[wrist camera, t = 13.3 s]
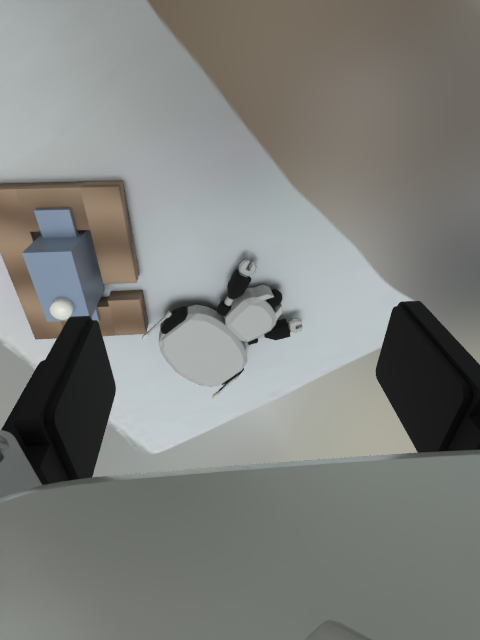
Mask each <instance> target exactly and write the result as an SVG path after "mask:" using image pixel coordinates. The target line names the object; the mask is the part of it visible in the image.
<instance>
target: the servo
mask: <svg viewBox="0 0 480 640" xmlns="http://www.w3.org/2000/svg"><path fill="white" fill-rule="evenodd" d="M34 213H35V216H36V219H37V222H38V225H39V228H40V231H41V235H40V236H39V237H38V238H37V239H36V240H35V241H34V242H32V243H31V244H30V245H29V246H28V247H27V248H26V249H25V250H24V251H23V252H22V255H23V257H24V260H25V263H26V266H27V268H28V271H29V274H30V276H31V279H32V282H33V285H34V287H35V290H36V293H37V296H38V298H39V301H40V304H41V306H42V309H43V312H44V315H45V317H46V320H47V322H56V321H67V320H68V318H69V317H73V316H90V317H91V318H92V320H97V321H98V322H99V321H100V315H99V311H98V307H97V305H98V303H99V300H100V298H101V296H102V294H103V292H104V289H105V288H104V284H103V280H102V276H101V272H100V268H99V264H98V260H97V256H96V252H95V248H94V243H93V239H92V235H91V231H90V230H77V228H76V224H75V220H74V216H73V213H72V209H71V208H36V209H35V210H34Z"/></svg>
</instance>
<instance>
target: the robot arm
mask: <svg viewBox="0 0 480 640" xmlns="http://www.w3.org/2000/svg"><path fill="white" fill-rule="evenodd" d="M376 376H377V380H378V382H379V383H380V385H381V387H382V388H383V391H384V392H385V394H386V396H387V398H388V399H389V401H390V403H391V405H392V407H393V408H394V410H395V412H396V414H397V416H398V417H399V419H400V421H401V423H402V424H403V426H404V428H405V430H406V432H407V434H408V435H409V437H410V439H411V441H412V443H413V444H414V446H415V448H416V450H417V452H418V453H407V454H392V455H377V456H362V457H347V458H332V459H318V460H304V461H290V462H277V463H264V464H249V465H236V466H223V467H210V468H198V469H184V470H171V471H158V472H146V473H135V474H124V475H114V476H103V477H92V476H93V472H94V468H95V465H96V461H97V458H98V454H99V451H100V447H101V443H102V440H103V436H104V432H105V429H106V425H107V422H108V418H109V415H110V411H111V408H112V404H113V400H114V397H115V391H116V387H115V381H114V378H113V374H112V370H111V366H110V363H109V359H108V355H107V352H106V348H105V344H104V341H103V337H102V333H101V330H100V326H99V323H98V321H97V320H92V318H91V317H90V316H73V317H69V318H68V320H67V322H66V323H65V325H64V327H63V329H62V331H61V332H60V334H59V336H58V338H57V340H56V341H55V343H54V345H53V347H52V349H51V351H50V352H49V354H48V356H47V358H46V360H43V361H41V362H40V363H39V365H38V366H37V368H36V370H35V371H34V373H33V375H32V377H31V378H30V380H29V382H28V384H27V386H26V387H25V389H24V391H23V392H22V394H21V396H20V398H19V400H18V401H17V403H16V405H15V407H14V408H13V410H12V412H11V414H10V415H9V417H8V419H7V421H6V422H5V424H4V426H3V428H2V429H1V430H0V640H480V365H479V364H478V363H477V362H476V360H475V359H474V358H473V357H472V356H471V355H470V354H469V353H468V352H467V351H466V350H465V349H464V347H462V345H461V344H460V343H459V342H458V341H457V340H456V339H455V338H454V337H453V336H452V335H451V333H450V332H448V330H447V329H446V328H445V327H444V326H443V325H442V324H441V323H440V322H439V321H438V320H437V318H436V317H435V316H433V314H432V313H431V312H430V311H429V310H428V309H427V308H426V307H425V306H424V305H423V304H422V303H421V302H420V301H407V302H400V303H399V304H398V306H396V307H394V308H393V310H392V313H391V317H390V320H389V324H388V327H387V331H386V334H385V338H384V342H383V345H382V349H381V352H380V356H379V360H378V363H377V367H376Z"/></svg>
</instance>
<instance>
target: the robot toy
mask: <svg viewBox="0 0 480 640" xmlns="http://www.w3.org/2000/svg"><path fill="white" fill-rule="evenodd" d="M249 263H250V261H249V260H248V259H246V260H243V261H242V262H241V263H240V264H239V270H235V272H234V274H233V275H232V277H231V279H230V281H229V283H228V291H227V293H228V296H227V298H226V300H225V301H221V302H220V304H219V305H218V307H217V312H216V311H215V310H213V309H211V308H209V307H206V306H201V305H193V306H189V307H185V306H183V307H181V308H178V309H175V310H173V311H172V312H170V311H168V312H167V313H166V314H165V316H164V317H163V318H162V319H161V320H160V321H159V322H158V323H157V324H156V325H155V326H154V327H152V328H151V329H150V330H149V331H148V332H146V333H145V334H144V335H143V337H142V339H145V338H146V337H148V336H149V334H150V333H151V332H152V331H153V330H154V329H155V328H156V327H157V326H158V325H160V324H161V329H160V330H161V331H160V334H159V346H160V351H161V353H162V355H163V356H164V358H165V359H166V361H167V362H168V363H169V364H170V365H171V367H172V368H173V369H174V370H175V371H176V372H177V373H178V374H180V375H182V376H183V377H185V378H187V379H188V380H190V381H192V382H194V383H196V384H199V385H202V386H209V387H214V386H219V385H221V384H222V385H223V384H225V385H224V386H223V387H222V388H221V389H220V390H219V391H218V392H216V393H215V394H214V395H213V397H212V398H216V397H217V396H218V394H219V393H220V392H221V391H222V390H223V389H225V388H226V387H227V386H228V385H229V384H230V383H231V382H232V381H233V380H236V379H237V378H238V377H239V375H240V374H241V373H242V371H243V370H244V366H245V364H246V363H247V353H246V349H245V345H244V342H243V341H246V342H248V344H249V345H250V344H254V343H257V342H258V339H260V338H263V337H266V338H269V339H273V340H279V339H283V338H286V337H290V332H294V333H297V332H299V331H301V330H302V328H303V327H302V321H301V320H300V319H292V320H291V321H289V322H288V323H287V321H286V319H282V320H278V321H277V319H278V318H279V316H280V315H281V314H282V306H281V304H280V303H281V301H282V294H281V292H279V291H278V290H277V289H272V290H271V289H270V287H268V286H265V285H260V286H257V287H254V288H247V287H248V285H249V283H250V282H251V278H250V277H249V276H250V275H252V274H253V273H254V272H255V270H256V267H257V266H256V264H255V263H254V262H251V264H250V266H249V268H248V267H247V266H248V264H249ZM222 315H223V316H222Z"/></svg>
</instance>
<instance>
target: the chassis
mask: <svg viewBox="0 0 480 640" xmlns="http://www.w3.org/2000/svg"><path fill="white" fill-rule="evenodd" d="M36 208H71V209H72V213H73V216H74V220H75V224H76V228H77V230H90V231H91V235H92V239H93V243H94V248H95V252H96V256H97V260H98V264H99V268H100V272H101V276H102V280H103V284H118V283H137V280H138V276H139V269H138V263H137V258H136V252H135V246H134V241H133V235H132V230H131V224H130V218H129V213H128V207H127V201H126V196H125V190H124V185H123V181H97V182H53V183H9V184H0V253H1V255H2V258H3V260H4V263H5V265H6V268H7V270H8V273H9V275H10V278H11V280H12V282H13V285H14V287H15V290H16V292H17V295H18V297H19V300H20V302H21V305H22V307H23V310H24V312H25V315H26V317H27V320H28V322H29V324H30V327H31V329H32V332H33V334H34V337H35V339H52V338H58V336H59V334H60V332H61V331H62V329H63V327H64V325H65V323H66V322H67V321H56V322H47V320H46V317H45V315H44V312H43V309H42V306H41V304H40V301H39V298H38V296H37V293H36V290H35V287H34V285H33V282H32V279H31V276H30V274H29V271H28V268H27V266H26V263H25V260H24V257H23V255H22V252H23V251H24V250H25V249H26V248H27V247H28V246H29V245H30V244H31V243H32V242H34V241H35V240H36V239H37V238H38V237H39V236H40V235H41V231H40V228H39V225H38V222H37V219H36V216H35V213H34V210H35V209H36ZM97 307H98V311H99V315H100V321H99V322H98V323H99V326H100V330H101V333H102V336H113V335H134V334H145V333H146V332H147V327H148V319H147V314H146V308H145V302H144V297H143V291H142V290H132V291H112V292H111V294H110V296H109V297H101V298H100V300H99V303H98V305H97Z"/></svg>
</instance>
